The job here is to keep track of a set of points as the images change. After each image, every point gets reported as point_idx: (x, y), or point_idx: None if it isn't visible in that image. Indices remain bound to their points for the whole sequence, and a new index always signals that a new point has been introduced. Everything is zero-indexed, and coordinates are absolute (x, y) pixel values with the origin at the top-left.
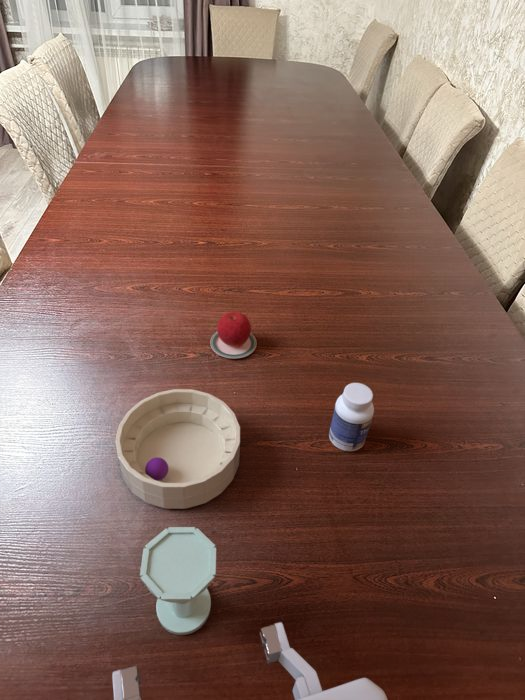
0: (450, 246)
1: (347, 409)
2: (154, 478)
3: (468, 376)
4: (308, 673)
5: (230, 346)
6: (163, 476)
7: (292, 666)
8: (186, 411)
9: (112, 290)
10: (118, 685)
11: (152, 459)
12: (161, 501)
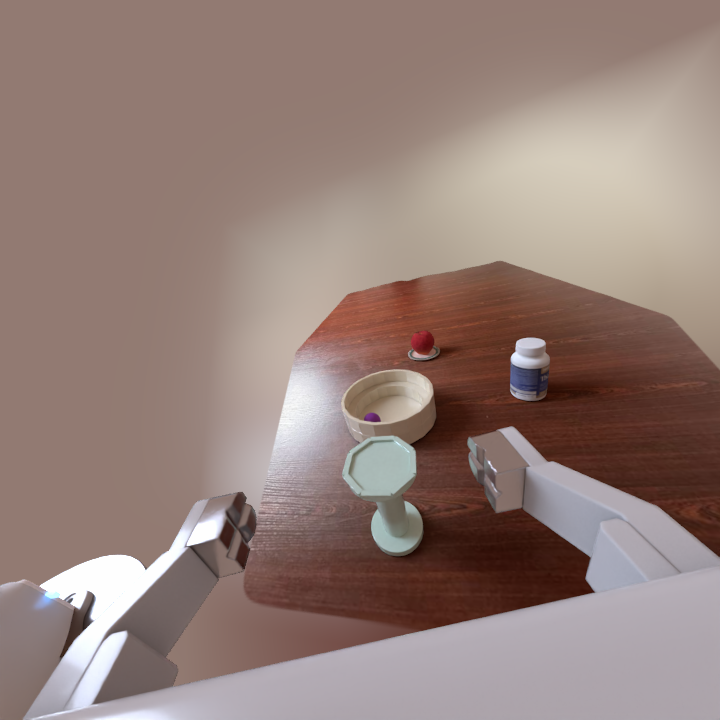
0: (572, 286)
1: (523, 358)
2: None
3: (631, 343)
4: (634, 512)
5: (421, 355)
6: None
7: (569, 503)
8: (392, 385)
9: (349, 343)
10: (193, 519)
11: (368, 413)
12: None
